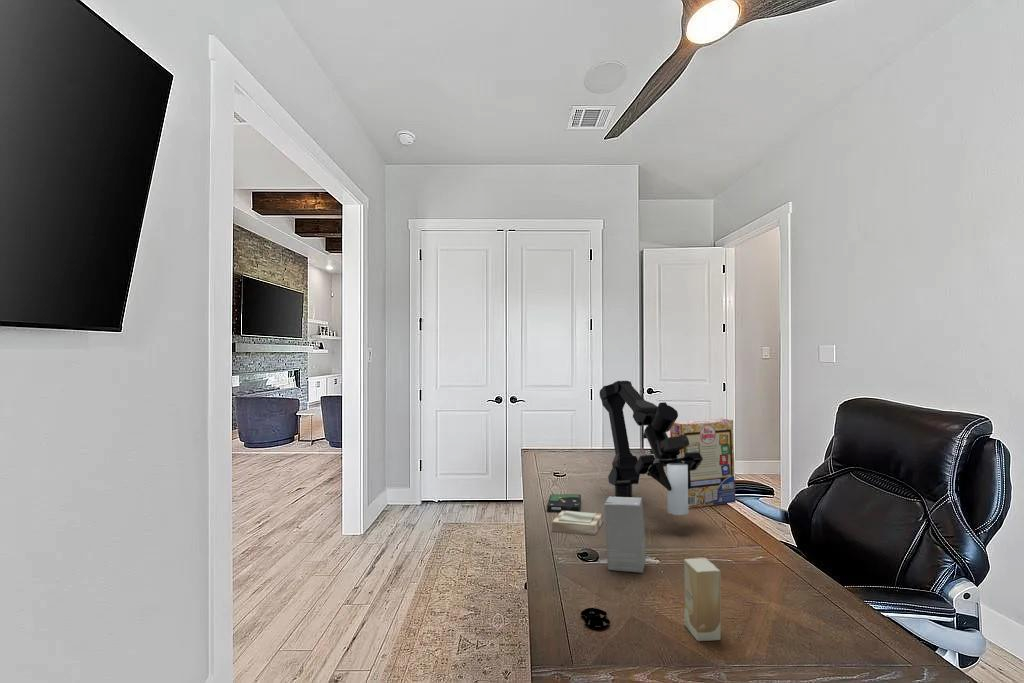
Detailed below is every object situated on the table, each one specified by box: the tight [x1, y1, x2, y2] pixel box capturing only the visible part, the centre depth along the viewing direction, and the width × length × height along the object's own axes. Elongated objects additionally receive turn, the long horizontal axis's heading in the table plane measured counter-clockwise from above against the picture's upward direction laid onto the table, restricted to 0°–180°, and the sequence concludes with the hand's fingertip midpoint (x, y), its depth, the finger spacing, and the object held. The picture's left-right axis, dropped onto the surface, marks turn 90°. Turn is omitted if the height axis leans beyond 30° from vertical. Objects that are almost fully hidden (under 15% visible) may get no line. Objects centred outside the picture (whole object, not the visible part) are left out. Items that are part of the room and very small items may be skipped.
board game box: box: [669, 417, 736, 509], centre depth 187 cm, size 20×6×27 cm, turn 108°
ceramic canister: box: [666, 463, 689, 516], centre depth 158 cm, size 6×6×13 cm
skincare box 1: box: [603, 495, 647, 574], centre depth 134 cm, size 8×7×16 cm
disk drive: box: [546, 493, 582, 514], centre depth 186 cm, size 10×3×15 cm
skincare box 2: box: [683, 557, 722, 642], centre depth 103 cm, size 6×4×12 cm
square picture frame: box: [551, 510, 603, 536], centre depth 165 cm, size 12×12×3 cm
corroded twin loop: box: [580, 607, 611, 631], centre depth 108 cm, size 5×8×1 cm, turn 3°
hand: (680, 489), depth 156 cm, fingers closed on ceramic canister, 5 cm apart
